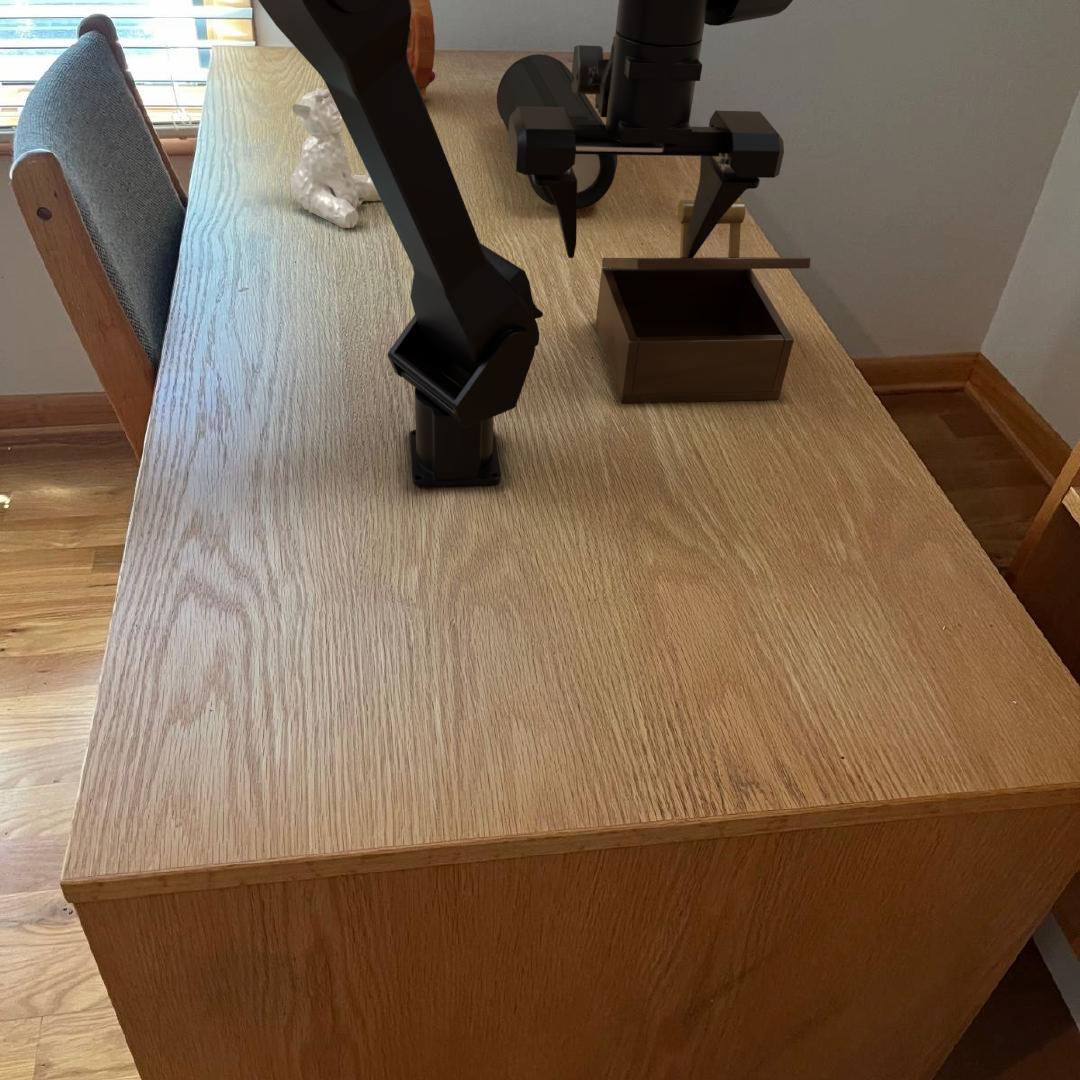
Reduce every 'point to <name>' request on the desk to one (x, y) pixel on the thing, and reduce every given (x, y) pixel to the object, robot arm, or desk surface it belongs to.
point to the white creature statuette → (327, 164)
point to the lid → (733, 260)
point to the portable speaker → (552, 87)
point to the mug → (421, 44)
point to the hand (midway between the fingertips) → (629, 255)
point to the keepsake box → (691, 335)
